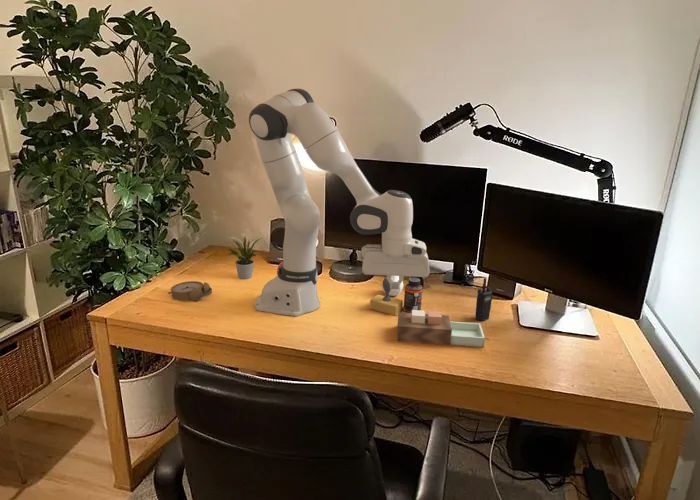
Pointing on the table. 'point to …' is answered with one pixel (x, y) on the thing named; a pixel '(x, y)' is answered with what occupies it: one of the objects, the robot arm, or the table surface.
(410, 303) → the supplement bottle
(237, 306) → the table surface
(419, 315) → the cream tile
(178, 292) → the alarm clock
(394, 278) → the motion sensor
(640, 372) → the table surface
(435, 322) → the terracotta tile
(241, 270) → the house plant
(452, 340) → the tray
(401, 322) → the dark wooden box
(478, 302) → the two-way radio
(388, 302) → the rubber stamp
